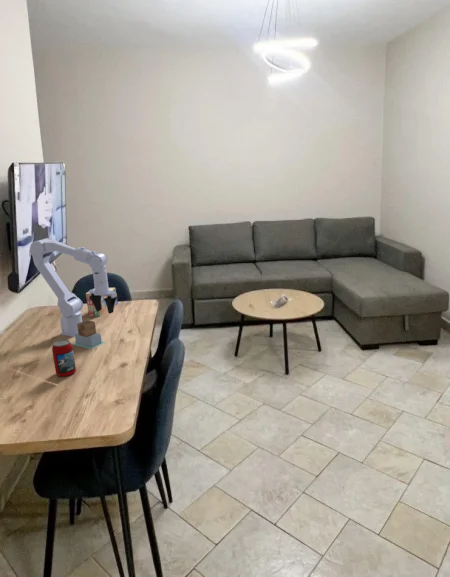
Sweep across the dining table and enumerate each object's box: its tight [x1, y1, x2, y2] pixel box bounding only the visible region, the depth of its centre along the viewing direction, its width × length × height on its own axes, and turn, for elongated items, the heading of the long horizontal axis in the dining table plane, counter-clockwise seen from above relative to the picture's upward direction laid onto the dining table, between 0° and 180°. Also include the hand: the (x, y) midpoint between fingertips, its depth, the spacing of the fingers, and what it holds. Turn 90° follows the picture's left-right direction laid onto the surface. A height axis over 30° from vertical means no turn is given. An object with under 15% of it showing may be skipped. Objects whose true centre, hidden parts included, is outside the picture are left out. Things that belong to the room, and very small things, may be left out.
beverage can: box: [51, 339, 77, 378], centre depth 153 cm, size 7×7×12 cm
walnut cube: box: [77, 319, 97, 337], centre depth 179 cm, size 5×5×5 cm
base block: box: [74, 332, 102, 347], centre depth 180 cm, size 10×5×4 cm, turn 57°
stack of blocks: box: [85, 287, 118, 317], centre depth 226 cm, size 21×6×12 cm, turn 169°
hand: (104, 311), depth 189 cm, fingers open, 7 cm apart
